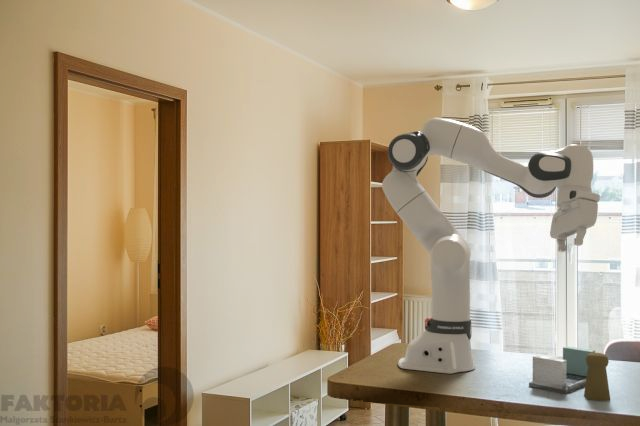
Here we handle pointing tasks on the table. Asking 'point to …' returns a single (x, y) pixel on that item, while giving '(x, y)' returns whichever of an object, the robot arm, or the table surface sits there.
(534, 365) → the vise base
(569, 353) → the block
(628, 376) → the table surface
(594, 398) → the cork
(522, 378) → the table surface
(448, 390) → the table surface
